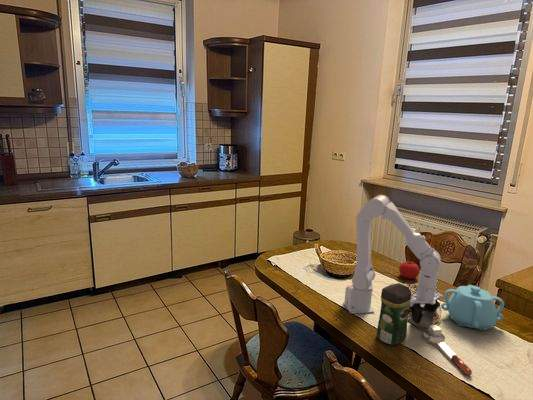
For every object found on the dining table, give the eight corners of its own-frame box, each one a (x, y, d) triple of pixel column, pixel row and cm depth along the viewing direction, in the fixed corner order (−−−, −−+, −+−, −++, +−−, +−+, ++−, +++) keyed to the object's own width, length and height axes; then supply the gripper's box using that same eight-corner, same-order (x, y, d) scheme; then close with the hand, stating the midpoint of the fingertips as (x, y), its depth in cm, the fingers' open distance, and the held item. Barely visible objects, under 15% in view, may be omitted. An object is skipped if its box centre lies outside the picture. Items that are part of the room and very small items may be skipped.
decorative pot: (468, 307, 144) (474, 275, 141) (506, 330, 129) (513, 294, 126) (435, 313, 139) (440, 280, 136) (470, 337, 124) (477, 300, 121)
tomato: (394, 276, 169) (396, 260, 167) (404, 271, 175) (406, 256, 173) (412, 283, 163) (414, 266, 161) (421, 278, 168) (424, 262, 167)
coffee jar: (388, 327, 128) (395, 278, 123) (409, 339, 121) (416, 287, 117) (371, 336, 122) (377, 285, 118) (392, 349, 116) (399, 295, 111)
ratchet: (419, 334, 124) (421, 322, 123) (437, 333, 125) (438, 321, 124) (459, 377, 104) (462, 364, 103) (479, 376, 105) (482, 363, 104)
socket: (420, 329, 126) (423, 313, 125) (410, 321, 131) (412, 306, 129) (431, 326, 128) (434, 311, 127) (420, 319, 132) (423, 304, 131)
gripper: (419, 293, 119) (414, 330, 123) (451, 287, 125) (445, 322, 128) (404, 284, 126) (399, 319, 129) (435, 278, 131) (430, 312, 134)
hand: (421, 320), depth 129 cm, fingers closed on socket, 5 cm apart
